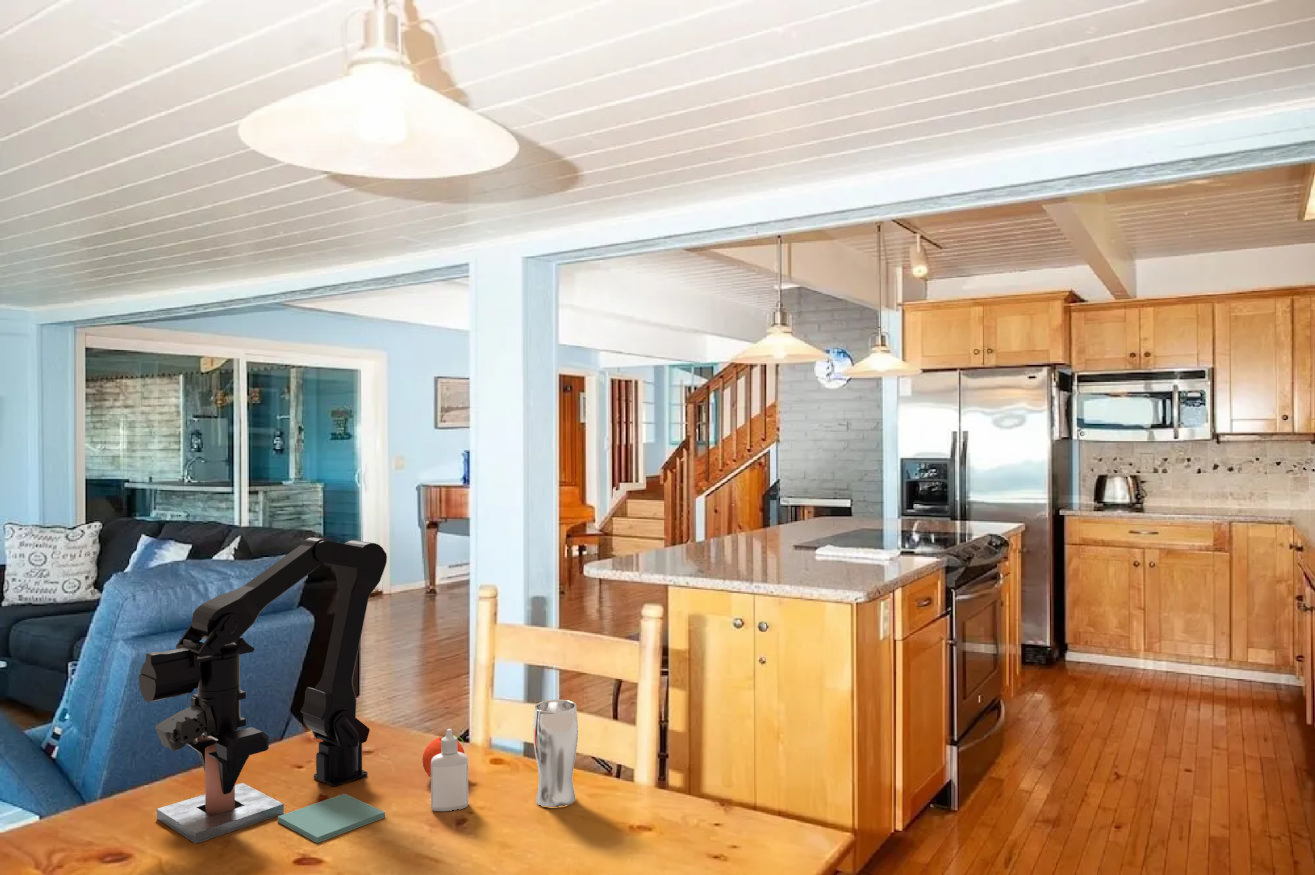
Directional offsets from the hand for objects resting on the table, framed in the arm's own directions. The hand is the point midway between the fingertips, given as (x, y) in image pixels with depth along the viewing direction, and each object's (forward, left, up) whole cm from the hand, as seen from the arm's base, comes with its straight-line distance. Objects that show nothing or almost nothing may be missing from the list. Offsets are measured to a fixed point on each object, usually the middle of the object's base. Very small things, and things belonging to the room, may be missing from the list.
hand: (220, 789), depth 138 cm
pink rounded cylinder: (0, 0, -4) cm, 4 cm away
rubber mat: (-10, +14, -4) cm, 18 cm away
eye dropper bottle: (-24, +24, -4) cm, 34 cm away
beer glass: (-36, +35, -4) cm, 50 cm away
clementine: (-31, +14, -4) cm, 34 cm away
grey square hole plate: (0, 0, -4) cm, 4 cm away
